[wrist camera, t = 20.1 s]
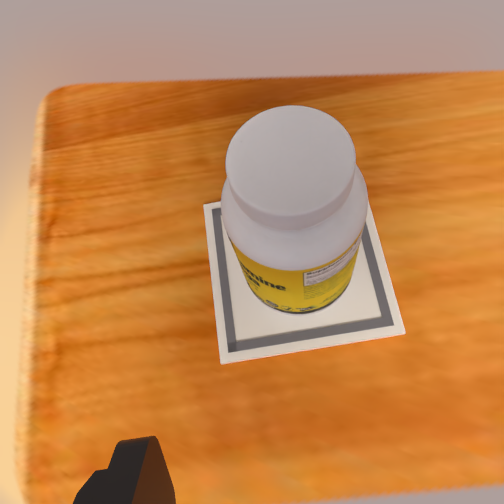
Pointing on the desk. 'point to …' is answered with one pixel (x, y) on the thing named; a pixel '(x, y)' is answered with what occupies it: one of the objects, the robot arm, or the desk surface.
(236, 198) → the pill bottle
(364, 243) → the card
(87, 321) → the desk surface
